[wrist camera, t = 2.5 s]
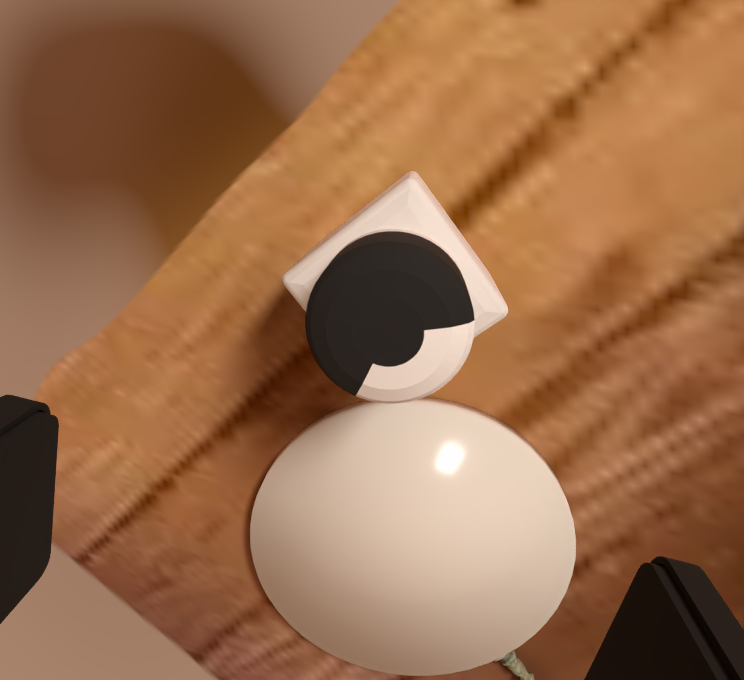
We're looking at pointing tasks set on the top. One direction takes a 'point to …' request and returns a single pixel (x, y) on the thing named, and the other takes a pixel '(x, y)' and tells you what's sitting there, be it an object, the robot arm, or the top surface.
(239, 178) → the top surface
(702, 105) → the top surface
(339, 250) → the medicine bottle
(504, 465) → the dish
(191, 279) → the top surface
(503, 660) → the grey spatula
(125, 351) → the top surface
